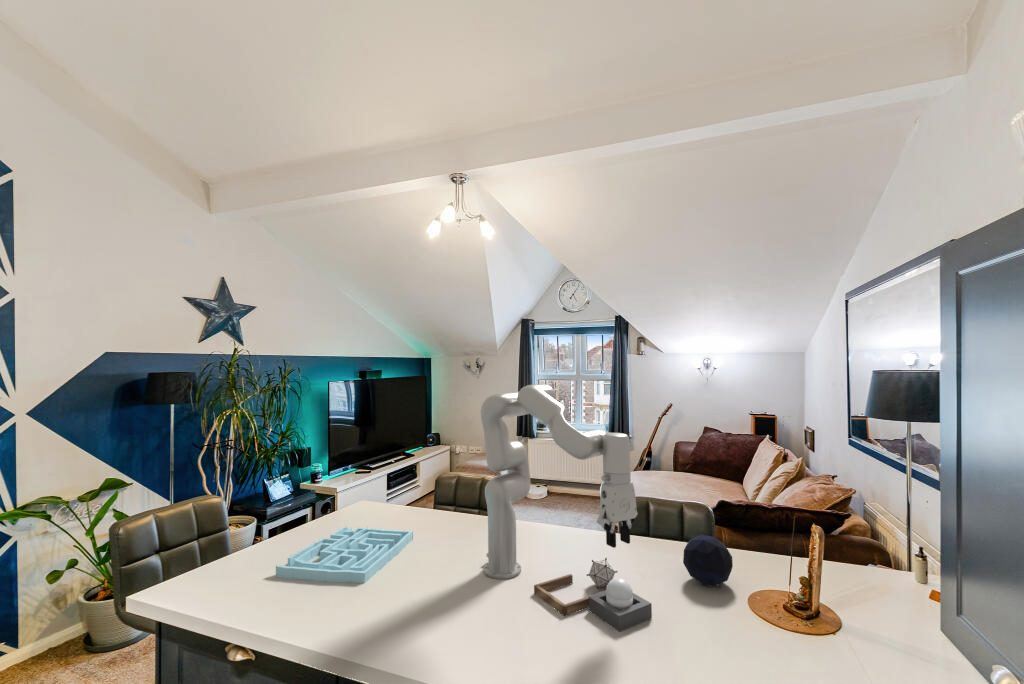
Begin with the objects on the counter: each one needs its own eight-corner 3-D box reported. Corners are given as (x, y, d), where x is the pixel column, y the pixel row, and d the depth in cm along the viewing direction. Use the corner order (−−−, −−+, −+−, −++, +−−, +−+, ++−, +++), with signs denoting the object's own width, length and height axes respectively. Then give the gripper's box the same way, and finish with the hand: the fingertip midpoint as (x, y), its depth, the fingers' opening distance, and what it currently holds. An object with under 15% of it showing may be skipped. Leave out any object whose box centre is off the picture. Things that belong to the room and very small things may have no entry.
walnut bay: (534, 593, 140) (534, 585, 140) (570, 582, 147) (570, 573, 147) (564, 616, 127) (564, 607, 127) (602, 602, 134) (602, 593, 134)
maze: (340, 534, 192) (340, 525, 193) (414, 539, 186) (414, 530, 186) (272, 578, 153) (272, 567, 153) (364, 586, 147) (364, 574, 147)
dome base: (588, 611, 130) (588, 596, 130) (620, 599, 136) (620, 585, 136) (619, 631, 119) (619, 616, 120) (651, 618, 126) (651, 603, 126)
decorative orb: (667, 556, 153) (684, 528, 145) (704, 549, 158) (722, 523, 150) (691, 598, 142) (711, 571, 134) (730, 591, 147) (751, 564, 139)
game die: (607, 601, 142) (617, 583, 137) (581, 588, 144) (590, 570, 139) (612, 575, 150) (622, 558, 144) (587, 564, 152) (596, 546, 146)
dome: (601, 603, 129) (600, 577, 129) (619, 596, 133) (619, 571, 133) (619, 615, 123) (618, 587, 123) (638, 607, 127) (638, 581, 127)
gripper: (603, 485, 122) (604, 555, 121) (648, 476, 131) (649, 542, 130) (584, 479, 128) (586, 546, 127) (628, 471, 137) (630, 533, 136)
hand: (618, 543), depth 129 cm, fingers open, 4 cm apart
